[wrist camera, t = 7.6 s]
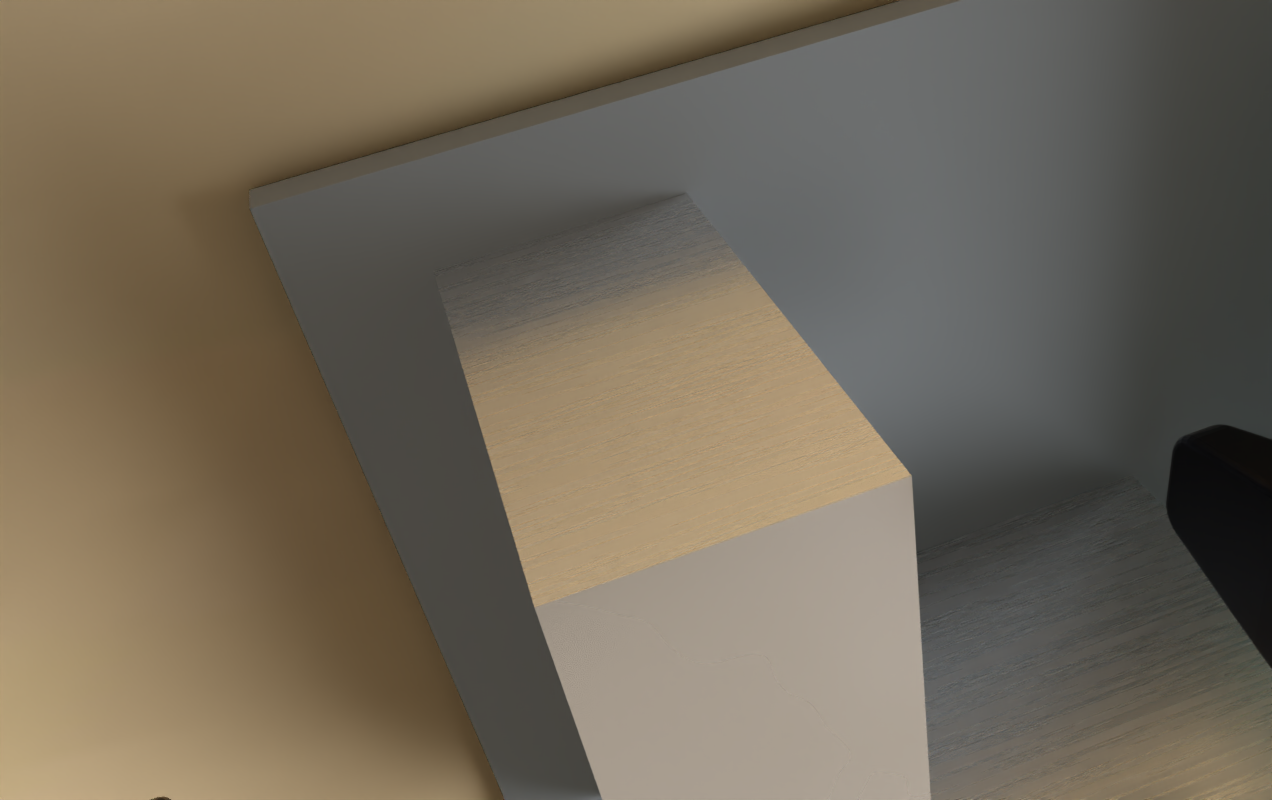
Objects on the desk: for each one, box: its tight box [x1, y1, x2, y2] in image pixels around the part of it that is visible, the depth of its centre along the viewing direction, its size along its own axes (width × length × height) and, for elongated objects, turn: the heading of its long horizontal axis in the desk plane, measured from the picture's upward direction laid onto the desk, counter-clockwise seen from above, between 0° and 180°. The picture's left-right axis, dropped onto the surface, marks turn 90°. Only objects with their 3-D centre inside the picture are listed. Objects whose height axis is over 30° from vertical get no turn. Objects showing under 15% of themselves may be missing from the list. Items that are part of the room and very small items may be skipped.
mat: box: [249, 0, 1272, 800], centre depth 13 cm, size 11×11×1 cm
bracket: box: [434, 193, 1272, 800], centre depth 11 cm, size 8×7×4 cm
